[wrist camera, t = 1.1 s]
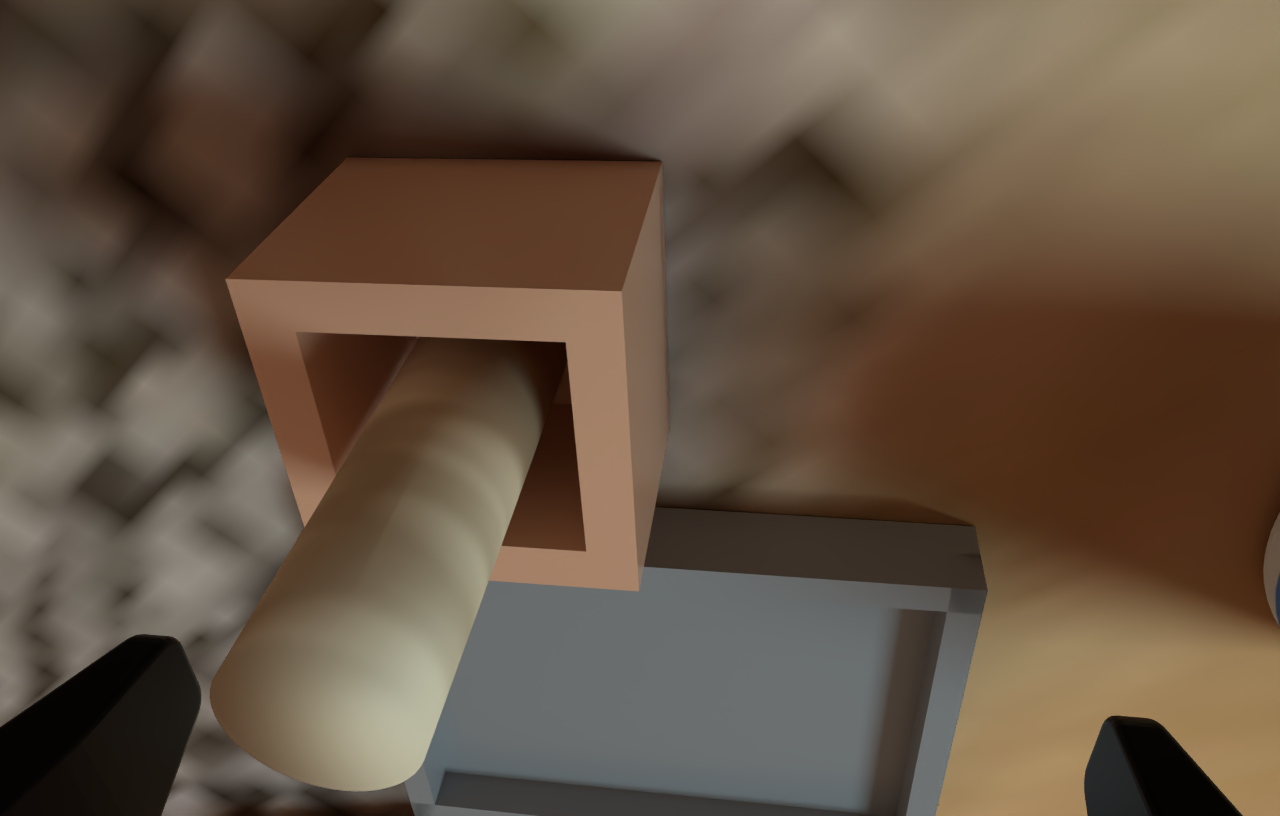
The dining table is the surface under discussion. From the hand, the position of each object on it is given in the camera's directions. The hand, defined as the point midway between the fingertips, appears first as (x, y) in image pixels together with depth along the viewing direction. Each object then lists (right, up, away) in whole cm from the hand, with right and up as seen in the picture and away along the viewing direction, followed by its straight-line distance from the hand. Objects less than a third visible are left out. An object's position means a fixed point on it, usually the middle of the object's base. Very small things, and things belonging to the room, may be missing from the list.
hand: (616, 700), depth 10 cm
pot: (-3, +5, +13) cm, 14 cm away
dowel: (-3, +5, +13) cm, 14 cm away
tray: (+1, -5, +20) cm, 20 cm away
